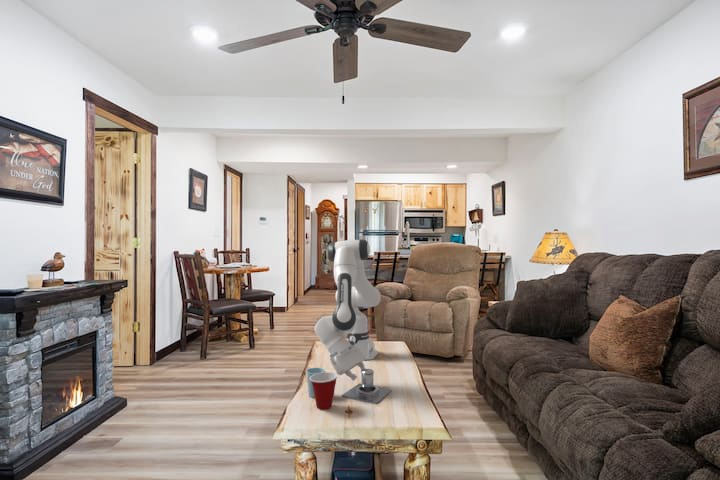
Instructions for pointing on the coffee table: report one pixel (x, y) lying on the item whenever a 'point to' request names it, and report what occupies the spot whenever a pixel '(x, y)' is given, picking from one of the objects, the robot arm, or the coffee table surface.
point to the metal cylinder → (367, 380)
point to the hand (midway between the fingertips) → (360, 375)
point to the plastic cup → (324, 389)
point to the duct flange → (367, 394)
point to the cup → (310, 386)
